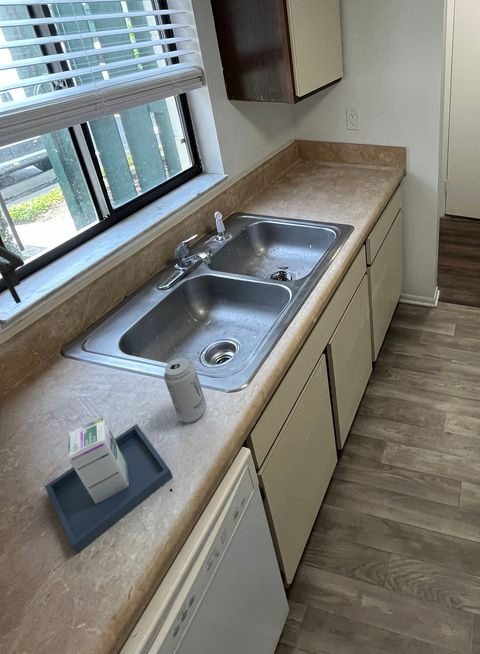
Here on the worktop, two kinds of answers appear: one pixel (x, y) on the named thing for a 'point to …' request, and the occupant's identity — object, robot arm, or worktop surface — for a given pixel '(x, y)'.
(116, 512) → the tray
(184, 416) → the energy drink can
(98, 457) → the syrup box
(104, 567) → the worktop surface
